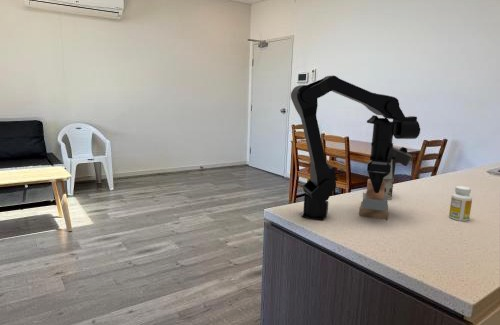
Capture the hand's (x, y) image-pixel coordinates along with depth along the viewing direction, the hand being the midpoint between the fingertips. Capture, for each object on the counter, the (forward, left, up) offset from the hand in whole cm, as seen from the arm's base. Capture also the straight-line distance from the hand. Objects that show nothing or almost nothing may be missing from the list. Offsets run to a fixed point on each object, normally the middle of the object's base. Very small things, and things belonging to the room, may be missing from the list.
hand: (377, 189), depth 109 cm
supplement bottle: (+24, +7, -8) cm, 26 cm away
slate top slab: (0, 0, -6) cm, 6 cm away
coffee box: (+1, +22, -8) cm, 24 cm away
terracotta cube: (0, 0, -2) cm, 3 cm away
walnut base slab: (0, 0, -8) cm, 9 cm away
